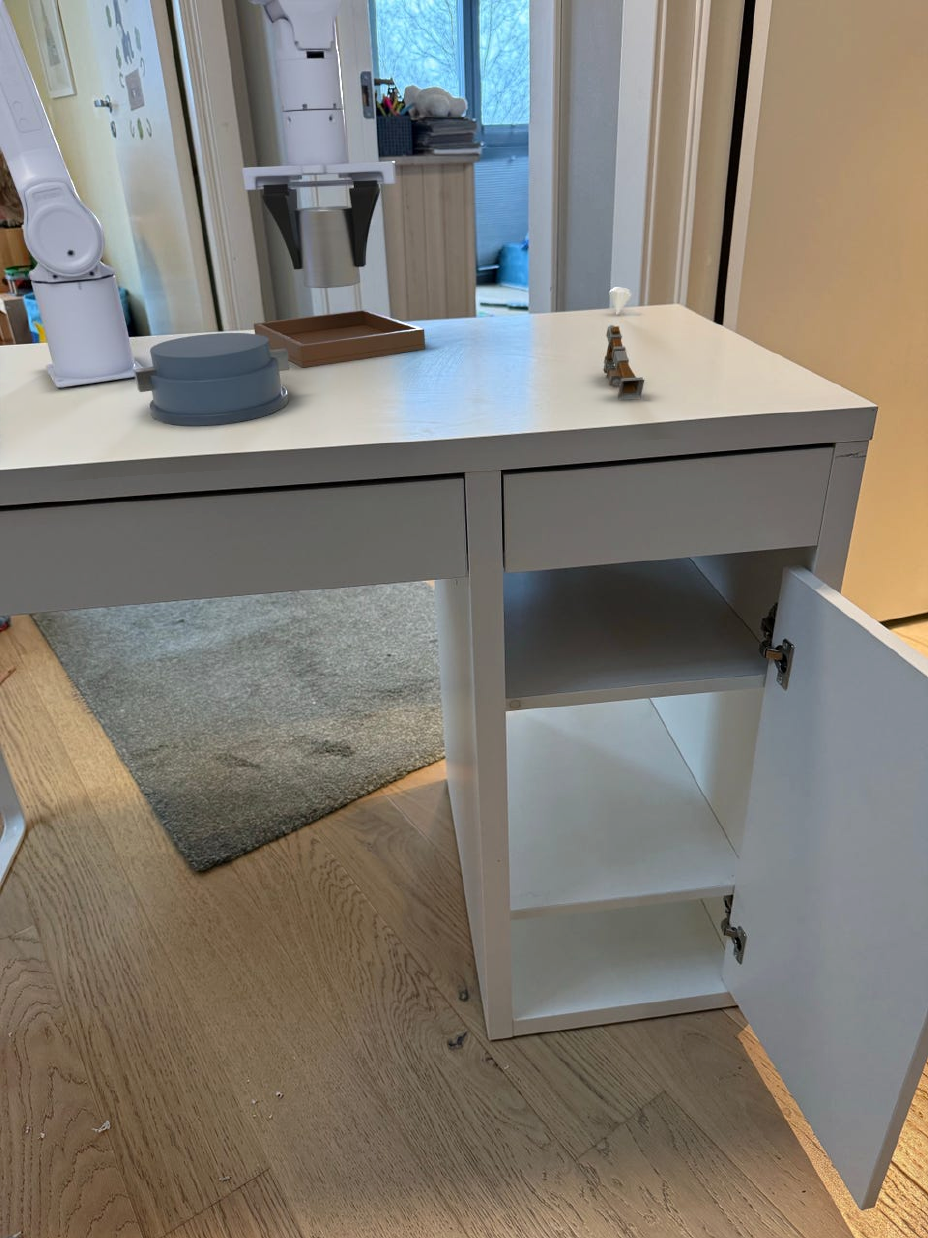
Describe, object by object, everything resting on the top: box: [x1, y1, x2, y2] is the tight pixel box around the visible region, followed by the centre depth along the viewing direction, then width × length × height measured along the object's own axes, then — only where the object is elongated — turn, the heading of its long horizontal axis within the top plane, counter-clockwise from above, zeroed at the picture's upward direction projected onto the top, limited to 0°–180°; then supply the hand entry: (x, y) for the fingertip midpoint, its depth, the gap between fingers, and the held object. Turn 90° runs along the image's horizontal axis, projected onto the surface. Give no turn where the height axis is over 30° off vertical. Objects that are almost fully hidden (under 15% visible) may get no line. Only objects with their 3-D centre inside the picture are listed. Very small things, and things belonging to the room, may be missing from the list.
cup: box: [294, 205, 361, 289], centre depth 86 cm, size 6×6×7 cm
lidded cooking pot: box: [134, 332, 291, 427], centre depth 69 cm, size 11×12×5 cm
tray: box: [253, 309, 426, 368], centre depth 90 cm, size 15×13×2 cm
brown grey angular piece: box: [602, 324, 645, 401], centre depth 71 cm, size 2×8×4 cm, turn 5°
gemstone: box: [608, 286, 634, 315], centre depth 100 cm, size 3×3×3 cm
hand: (329, 266), depth 87 cm, fingers closed on cup, 6 cm apart
